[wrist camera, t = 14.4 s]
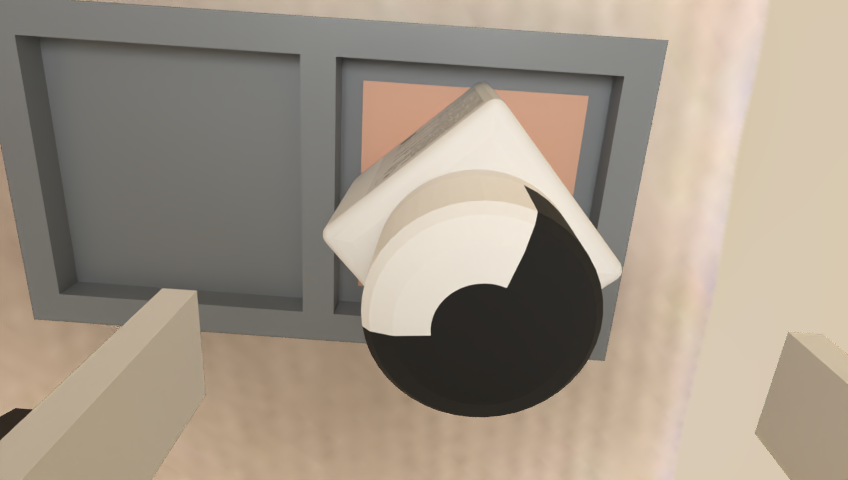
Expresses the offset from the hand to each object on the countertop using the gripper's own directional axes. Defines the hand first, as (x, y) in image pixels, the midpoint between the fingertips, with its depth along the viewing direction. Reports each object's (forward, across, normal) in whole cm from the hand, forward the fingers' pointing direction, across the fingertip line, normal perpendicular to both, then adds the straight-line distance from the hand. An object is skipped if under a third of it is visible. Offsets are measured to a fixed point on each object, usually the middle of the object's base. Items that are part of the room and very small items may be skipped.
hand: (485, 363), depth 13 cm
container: (+15, 0, 0) cm, 15 cm away
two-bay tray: (+16, -6, 0) cm, 17 cm away
